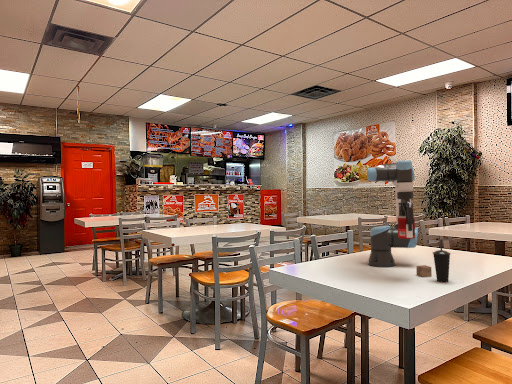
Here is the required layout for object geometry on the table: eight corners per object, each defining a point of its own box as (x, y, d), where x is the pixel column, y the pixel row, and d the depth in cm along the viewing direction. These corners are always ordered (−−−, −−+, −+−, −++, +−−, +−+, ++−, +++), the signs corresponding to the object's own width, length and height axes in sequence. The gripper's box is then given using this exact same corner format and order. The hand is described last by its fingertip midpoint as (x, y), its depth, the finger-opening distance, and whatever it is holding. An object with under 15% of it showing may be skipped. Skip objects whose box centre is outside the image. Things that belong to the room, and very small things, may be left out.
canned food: (417, 238, 174) (416, 216, 174) (399, 239, 175) (398, 216, 176) (413, 237, 181) (412, 215, 181) (396, 237, 183) (396, 215, 183)
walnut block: (416, 275, 185) (416, 265, 185) (425, 274, 186) (424, 265, 186) (422, 277, 180) (422, 267, 180) (431, 276, 181) (431, 266, 181)
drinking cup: (430, 280, 173) (428, 239, 174) (441, 278, 176) (440, 238, 176) (443, 283, 166) (441, 240, 166) (455, 282, 169) (453, 239, 169)
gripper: (391, 191, 189) (392, 234, 189) (404, 191, 169) (406, 239, 168) (405, 191, 189) (407, 234, 188) (420, 190, 168) (422, 238, 168)
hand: (406, 236), depth 178 cm, fingers closed on canned food, 8 cm apart
